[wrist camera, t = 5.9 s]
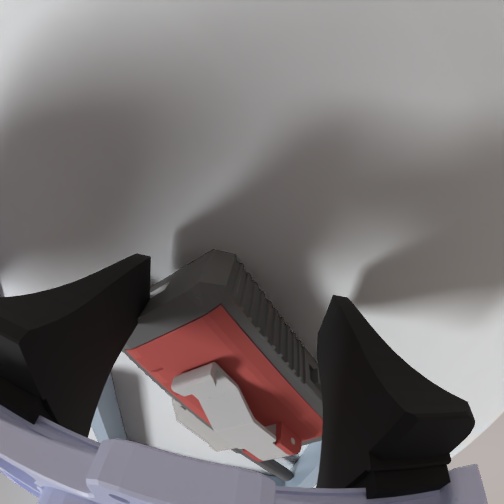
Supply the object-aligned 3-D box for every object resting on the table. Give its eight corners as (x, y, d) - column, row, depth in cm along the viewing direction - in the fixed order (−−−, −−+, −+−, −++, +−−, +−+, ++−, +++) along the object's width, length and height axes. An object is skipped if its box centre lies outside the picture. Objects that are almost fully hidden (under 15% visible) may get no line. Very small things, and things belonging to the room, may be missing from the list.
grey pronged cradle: (118, 444, 23) (109, 465, 21) (95, 367, 17) (78, 394, 15) (293, 482, 23) (292, 504, 21) (344, 420, 17) (347, 452, 15)
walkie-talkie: (89, 299, 15) (278, 466, 22) (47, 351, 11) (275, 511, 18) (214, 213, 13) (379, 438, 19) (182, 267, 9) (387, 487, 15)
